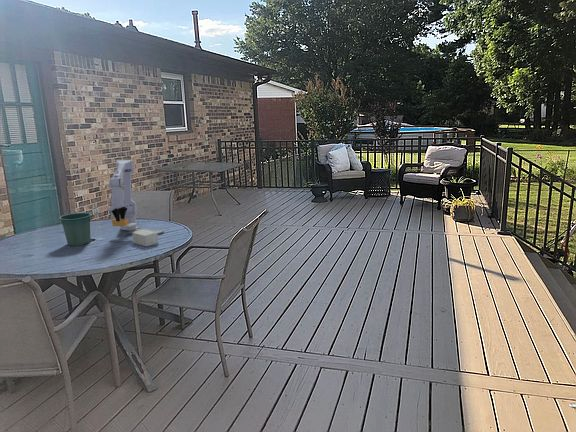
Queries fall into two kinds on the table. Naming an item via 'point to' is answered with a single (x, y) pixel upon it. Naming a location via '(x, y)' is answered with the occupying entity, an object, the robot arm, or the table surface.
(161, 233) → the tool board
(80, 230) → the flower pot
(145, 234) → the small box
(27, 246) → the table surface
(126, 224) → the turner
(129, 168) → the robot arm
